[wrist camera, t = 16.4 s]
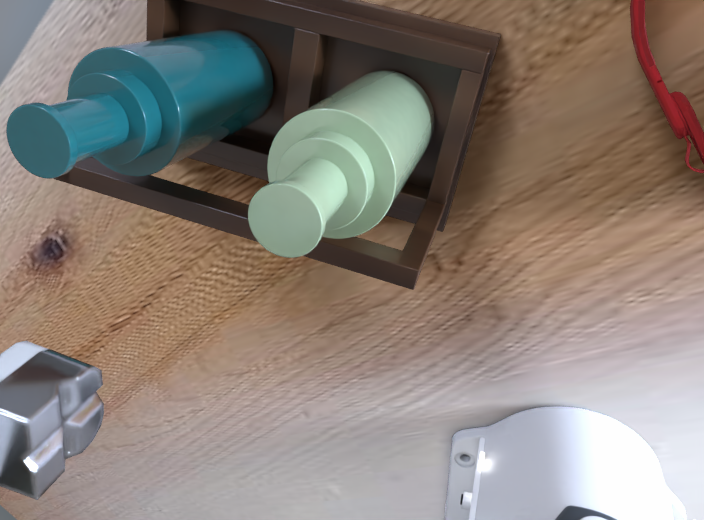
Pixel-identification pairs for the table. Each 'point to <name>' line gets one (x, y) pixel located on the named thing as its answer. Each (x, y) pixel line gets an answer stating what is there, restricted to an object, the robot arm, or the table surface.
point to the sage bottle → (341, 163)
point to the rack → (310, 88)
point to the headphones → (671, 104)
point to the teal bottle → (146, 105)
